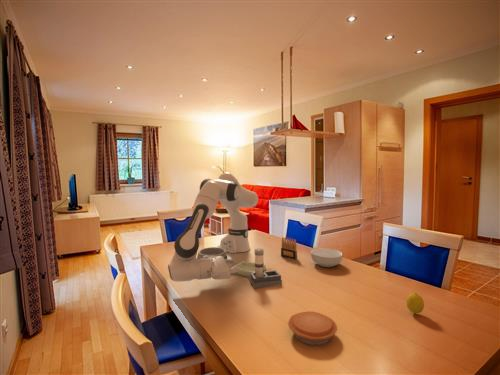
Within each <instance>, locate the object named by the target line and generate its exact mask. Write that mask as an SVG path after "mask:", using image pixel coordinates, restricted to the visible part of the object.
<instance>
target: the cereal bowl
mask: <svg viewBox="0 0 500 375" xmlns="http://www.w3.org/2000/svg"><path fill="white" fill-rule="evenodd" d="M310 256H311V260H312V262H314V263H315V264H317V265H319V266H320V267H324V268H332V267H334V266H337V265H340V263H341V262H342V260H343V253H342V251H341V250H337V249H334V248H327V247H326V248H325V247H324V248H319V247H318V248H315V249H312V250H311V252H310Z"/></svg>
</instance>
